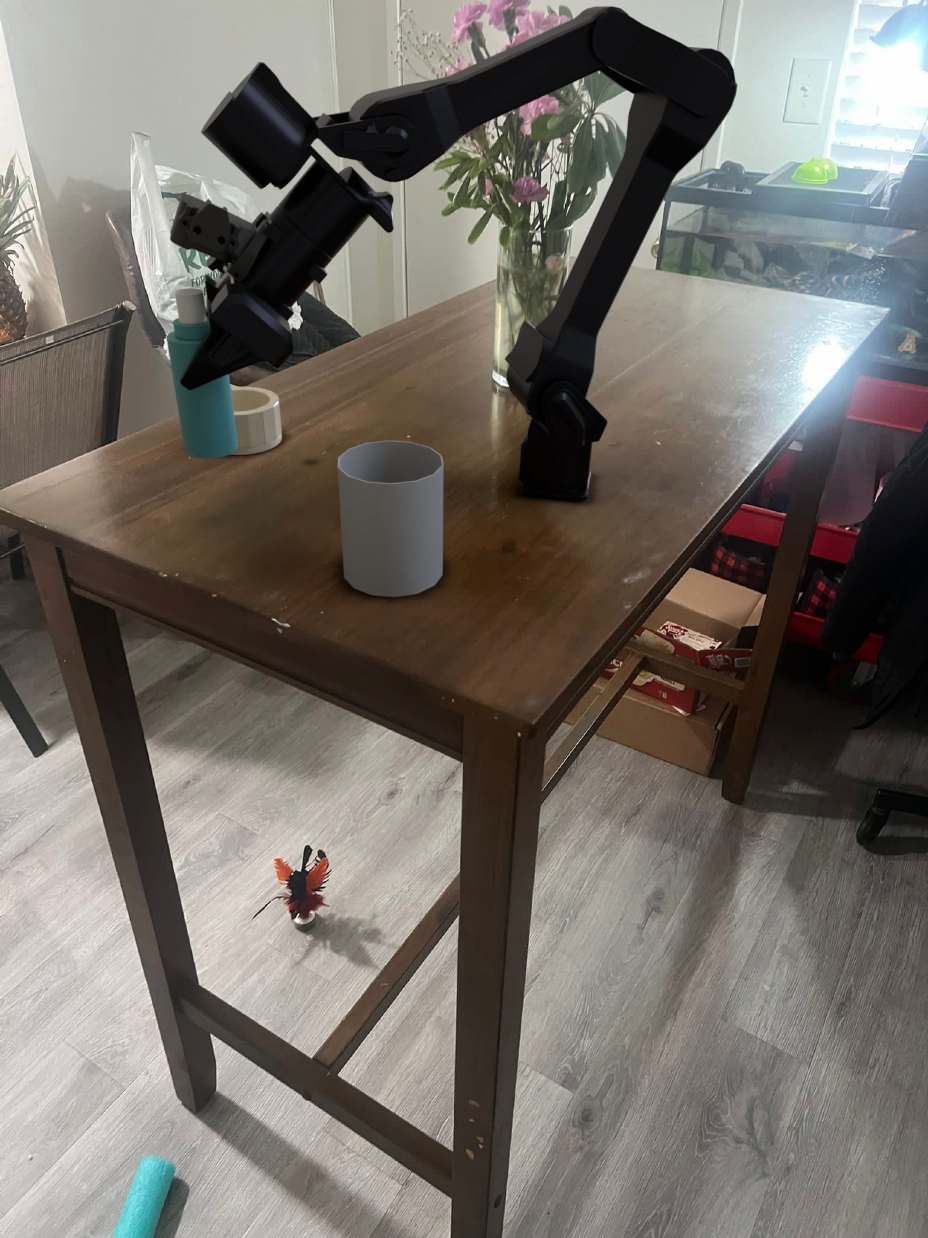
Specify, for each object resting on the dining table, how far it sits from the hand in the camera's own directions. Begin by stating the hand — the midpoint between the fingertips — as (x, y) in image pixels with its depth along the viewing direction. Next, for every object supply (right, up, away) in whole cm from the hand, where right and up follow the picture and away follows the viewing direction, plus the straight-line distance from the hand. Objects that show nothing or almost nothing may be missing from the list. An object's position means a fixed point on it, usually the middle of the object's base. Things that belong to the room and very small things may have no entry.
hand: (184, 376), depth 77 cm
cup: (+18, -17, 0) cm, 24 cm away
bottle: (+1, -5, +4) cm, 7 cm away
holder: (-1, -1, +23) cm, 23 cm away
